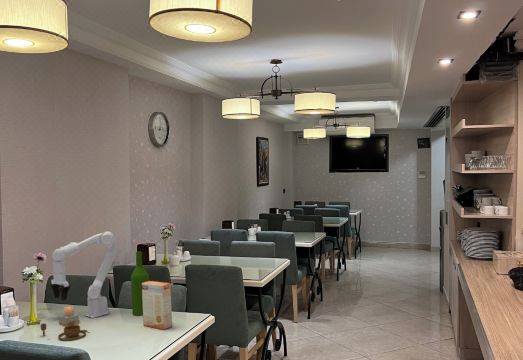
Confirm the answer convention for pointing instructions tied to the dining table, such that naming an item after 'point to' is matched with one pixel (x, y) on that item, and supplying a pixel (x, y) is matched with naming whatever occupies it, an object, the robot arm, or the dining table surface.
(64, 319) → the slate block
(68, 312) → the terracotta cylinder
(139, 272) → the wine bottle
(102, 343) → the dining table surface
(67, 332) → the place setting
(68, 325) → the walnut block
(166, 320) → the cracker box
